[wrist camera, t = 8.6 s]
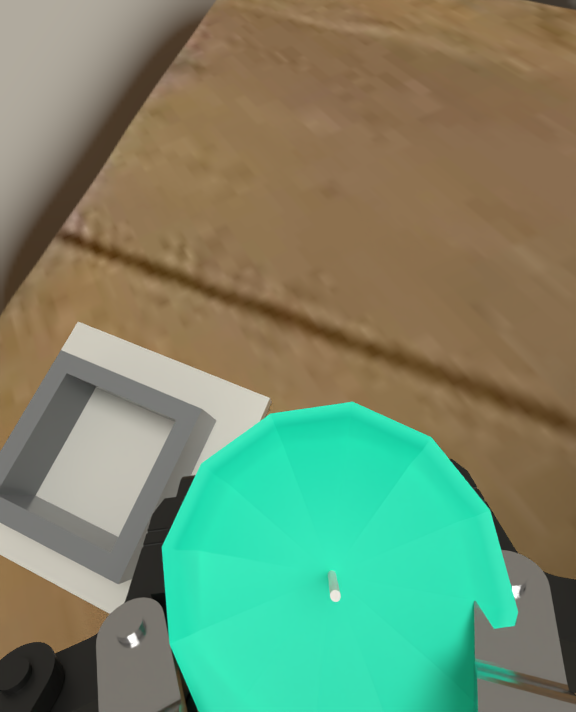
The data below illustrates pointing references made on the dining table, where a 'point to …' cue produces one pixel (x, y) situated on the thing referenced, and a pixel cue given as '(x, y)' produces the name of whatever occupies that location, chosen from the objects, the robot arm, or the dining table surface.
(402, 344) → the dining table surface
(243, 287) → the dining table surface
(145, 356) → the candle holder
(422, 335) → the dining table surface
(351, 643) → the candle
